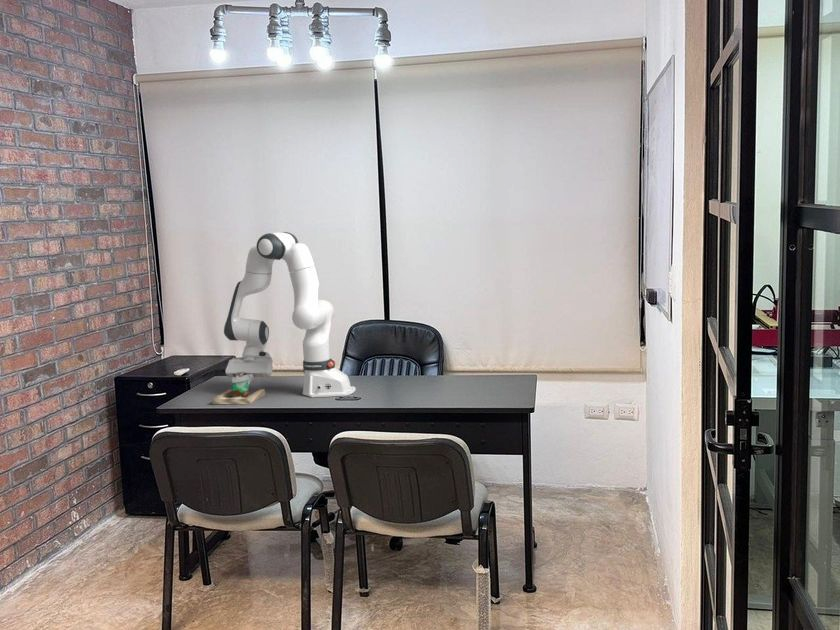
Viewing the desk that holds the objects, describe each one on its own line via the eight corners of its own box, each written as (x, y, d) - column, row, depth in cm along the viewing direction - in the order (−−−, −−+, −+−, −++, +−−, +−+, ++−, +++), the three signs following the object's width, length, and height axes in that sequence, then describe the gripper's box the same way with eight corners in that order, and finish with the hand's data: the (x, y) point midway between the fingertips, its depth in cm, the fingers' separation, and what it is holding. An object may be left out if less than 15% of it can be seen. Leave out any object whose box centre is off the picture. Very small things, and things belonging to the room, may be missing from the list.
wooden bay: (265, 394, 347) (264, 389, 347) (249, 404, 331) (248, 398, 330) (229, 395, 350) (229, 389, 350) (212, 404, 334) (212, 398, 333)
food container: (248, 400, 338) (246, 377, 337) (233, 401, 338) (231, 377, 336) (253, 393, 350) (251, 371, 349) (239, 394, 350) (237, 371, 349)
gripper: (227, 353, 355) (219, 380, 346) (271, 353, 351) (265, 380, 342) (232, 361, 360) (225, 388, 351) (276, 361, 356) (269, 388, 347)
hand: (245, 384), depth 347 cm, fingers closed
